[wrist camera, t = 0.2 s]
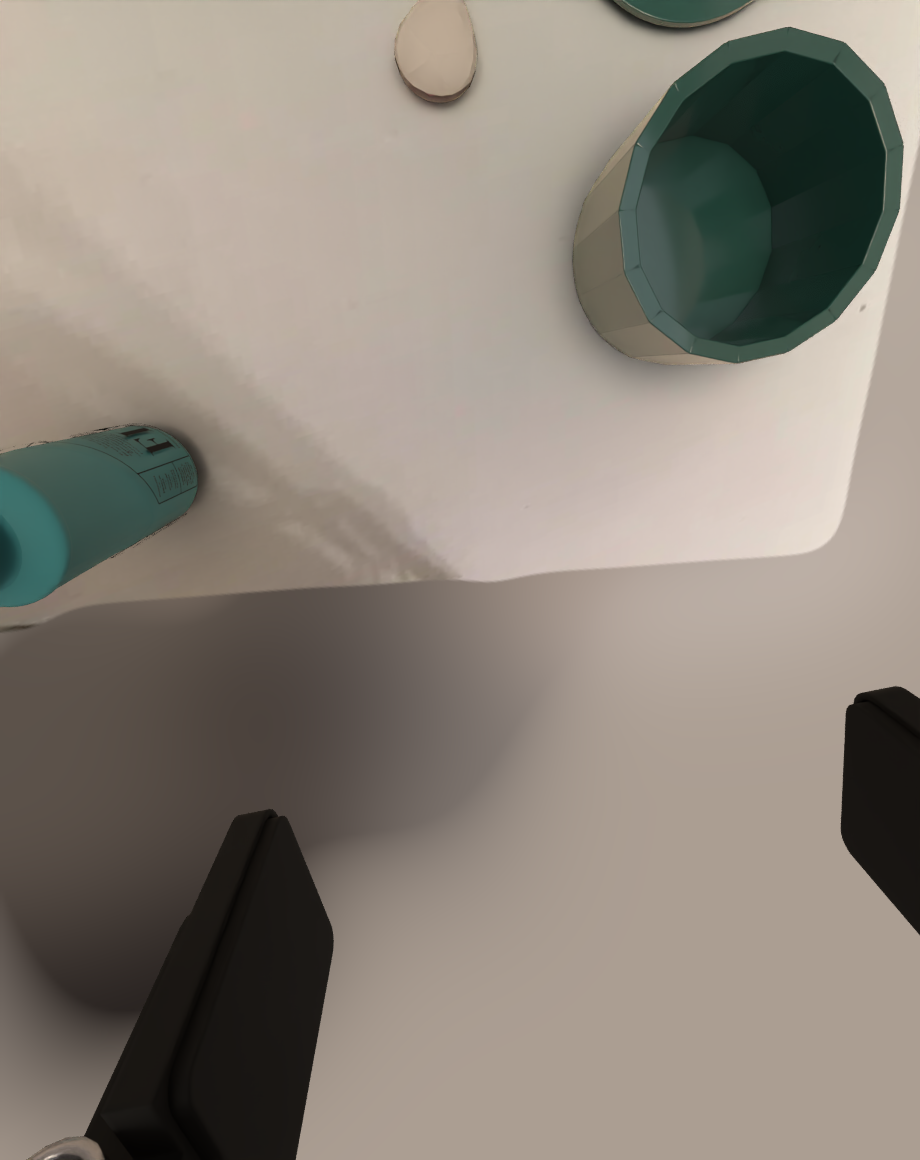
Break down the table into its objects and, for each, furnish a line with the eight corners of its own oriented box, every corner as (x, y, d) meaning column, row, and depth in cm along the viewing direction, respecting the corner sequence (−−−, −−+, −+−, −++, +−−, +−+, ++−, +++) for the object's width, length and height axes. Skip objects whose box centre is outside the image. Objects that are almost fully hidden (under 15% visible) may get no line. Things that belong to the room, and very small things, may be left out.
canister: (558, 152, 32) (605, 69, 23) (779, 100, 32) (913, -5, 23) (586, 382, 36) (634, 386, 28) (780, 339, 36) (892, 329, 27)
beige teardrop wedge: (389, 93, 31) (385, 70, 28) (411, -22, 29) (409, -56, 27) (464, 121, 31) (466, 100, 29) (490, 9, 30) (495, -21, 27)
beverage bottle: (213, 430, 37) (-21, 497, 18) (208, 527, 39) (-3, 676, 20) (109, 410, 36) (-248, 457, 17) (110, 510, 38) (-204, 647, 19)
